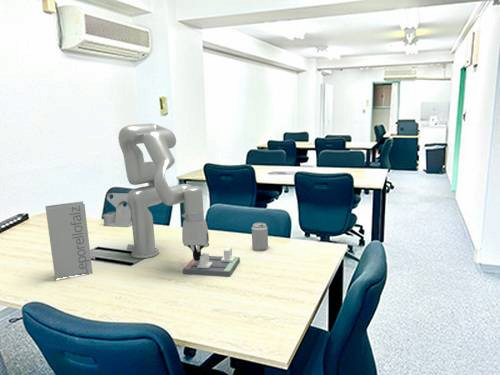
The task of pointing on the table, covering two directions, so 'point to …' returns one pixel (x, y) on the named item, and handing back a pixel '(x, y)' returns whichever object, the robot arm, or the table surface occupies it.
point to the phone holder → (118, 211)
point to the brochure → (69, 239)
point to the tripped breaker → (204, 261)
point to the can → (259, 236)
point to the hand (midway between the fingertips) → (197, 259)
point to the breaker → (228, 255)
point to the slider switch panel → (212, 267)
